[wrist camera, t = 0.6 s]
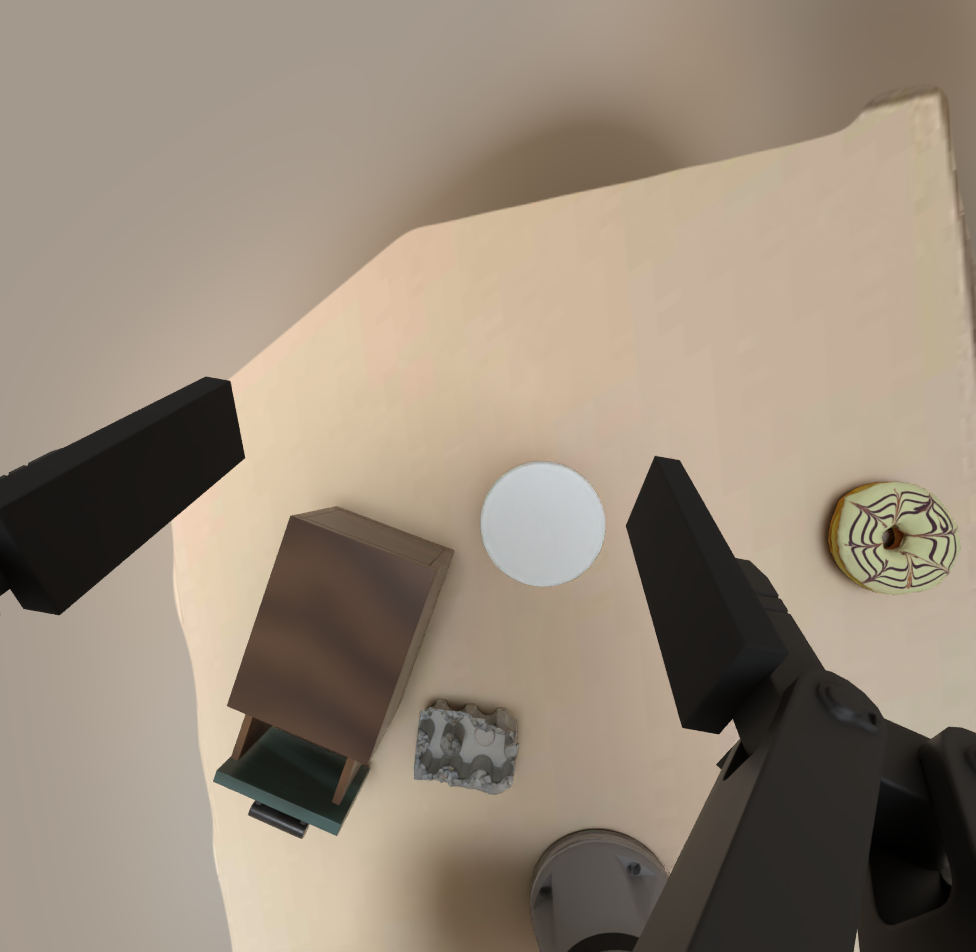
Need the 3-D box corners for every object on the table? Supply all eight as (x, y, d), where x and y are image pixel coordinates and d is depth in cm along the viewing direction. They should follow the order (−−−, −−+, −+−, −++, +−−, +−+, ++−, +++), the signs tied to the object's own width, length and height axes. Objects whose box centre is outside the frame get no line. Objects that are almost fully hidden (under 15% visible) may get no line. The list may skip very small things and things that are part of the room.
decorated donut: (922, 474, 42) (961, 474, 39) (937, 580, 42) (977, 591, 39) (812, 488, 43) (840, 490, 39) (827, 592, 43) (856, 604, 39)
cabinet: (398, 707, 47) (367, 766, 38) (284, 660, 48) (226, 706, 39) (454, 550, 46) (436, 571, 37) (336, 506, 48) (290, 515, 38)
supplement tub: (537, 570, 46) (544, 619, 31) (473, 510, 46) (449, 530, 32) (600, 504, 45) (636, 522, 30) (533, 444, 46) (538, 434, 31)
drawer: (354, 812, 47) (322, 877, 40) (249, 767, 48) (198, 822, 41) (418, 630, 46) (398, 662, 39) (310, 588, 47) (270, 610, 40)
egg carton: (522, 708, 46) (522, 732, 42) (512, 775, 46) (511, 805, 42) (426, 691, 47) (417, 712, 43) (417, 756, 47) (407, 784, 43)
